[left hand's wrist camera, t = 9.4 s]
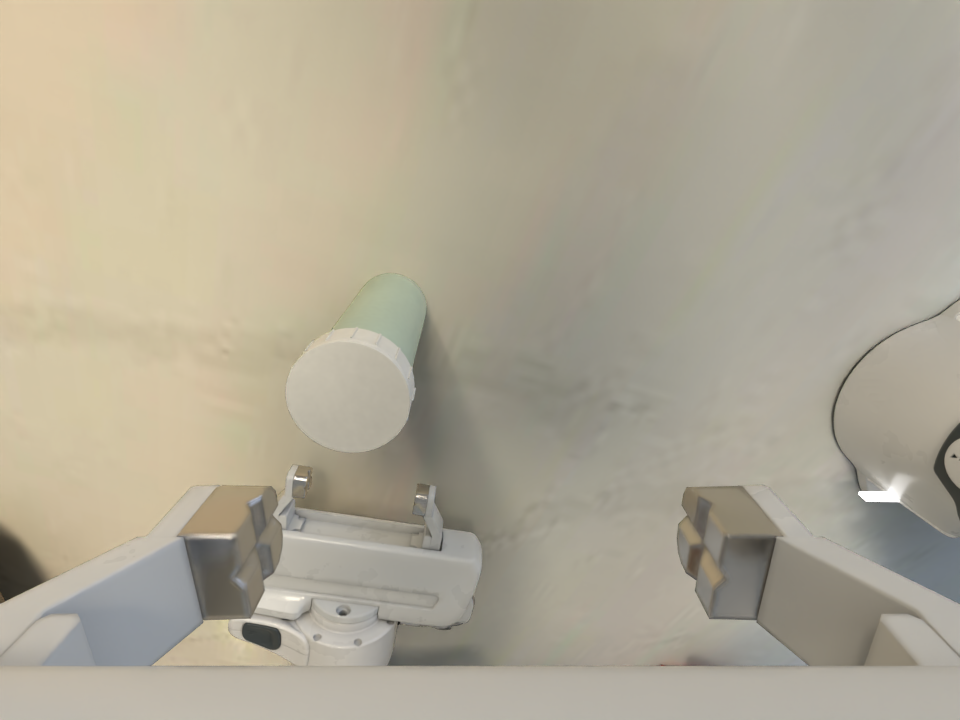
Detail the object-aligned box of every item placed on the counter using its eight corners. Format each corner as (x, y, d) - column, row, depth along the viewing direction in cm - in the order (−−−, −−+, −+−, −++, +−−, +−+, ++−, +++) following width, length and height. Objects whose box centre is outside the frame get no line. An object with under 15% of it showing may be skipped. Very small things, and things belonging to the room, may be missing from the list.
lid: (374, 305, 26) (367, 318, 24) (436, 403, 28) (434, 422, 26) (273, 360, 27) (258, 376, 25) (339, 450, 29) (330, 472, 27)
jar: (404, 260, 39) (366, 327, 25) (439, 320, 41) (422, 414, 26) (344, 293, 40) (274, 376, 25) (381, 350, 41) (335, 457, 27)
